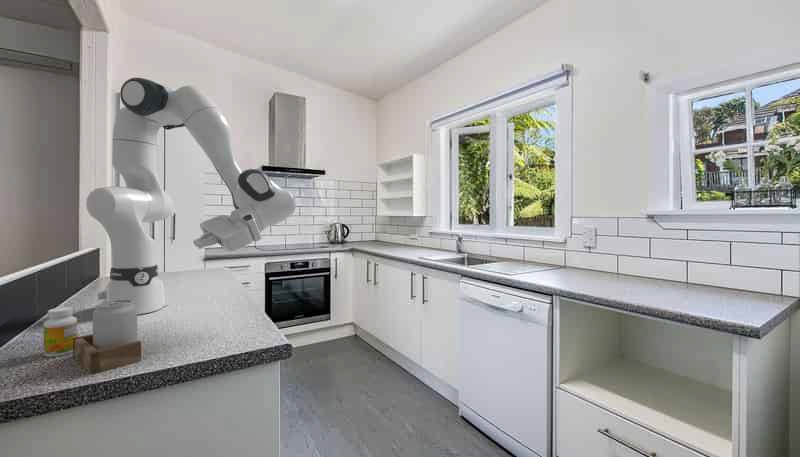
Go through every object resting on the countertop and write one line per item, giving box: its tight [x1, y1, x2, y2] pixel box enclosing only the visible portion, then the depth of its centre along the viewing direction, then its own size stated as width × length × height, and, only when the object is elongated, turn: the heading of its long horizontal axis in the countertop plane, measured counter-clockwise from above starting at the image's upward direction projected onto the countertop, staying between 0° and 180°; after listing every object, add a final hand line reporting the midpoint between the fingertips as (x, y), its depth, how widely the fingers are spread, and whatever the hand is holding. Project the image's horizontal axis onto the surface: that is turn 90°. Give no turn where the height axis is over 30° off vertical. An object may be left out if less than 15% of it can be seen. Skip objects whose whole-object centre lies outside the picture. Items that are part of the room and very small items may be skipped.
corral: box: [72, 333, 142, 375], centre depth 75 cm, size 14×8×4 cm, turn 54°
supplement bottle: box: [43, 306, 79, 357], centre depth 77 cm, size 5×5×10 cm
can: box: [91, 299, 139, 350], centre depth 75 cm, size 8×8×12 cm
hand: (195, 245), depth 93 cm, fingers closed
